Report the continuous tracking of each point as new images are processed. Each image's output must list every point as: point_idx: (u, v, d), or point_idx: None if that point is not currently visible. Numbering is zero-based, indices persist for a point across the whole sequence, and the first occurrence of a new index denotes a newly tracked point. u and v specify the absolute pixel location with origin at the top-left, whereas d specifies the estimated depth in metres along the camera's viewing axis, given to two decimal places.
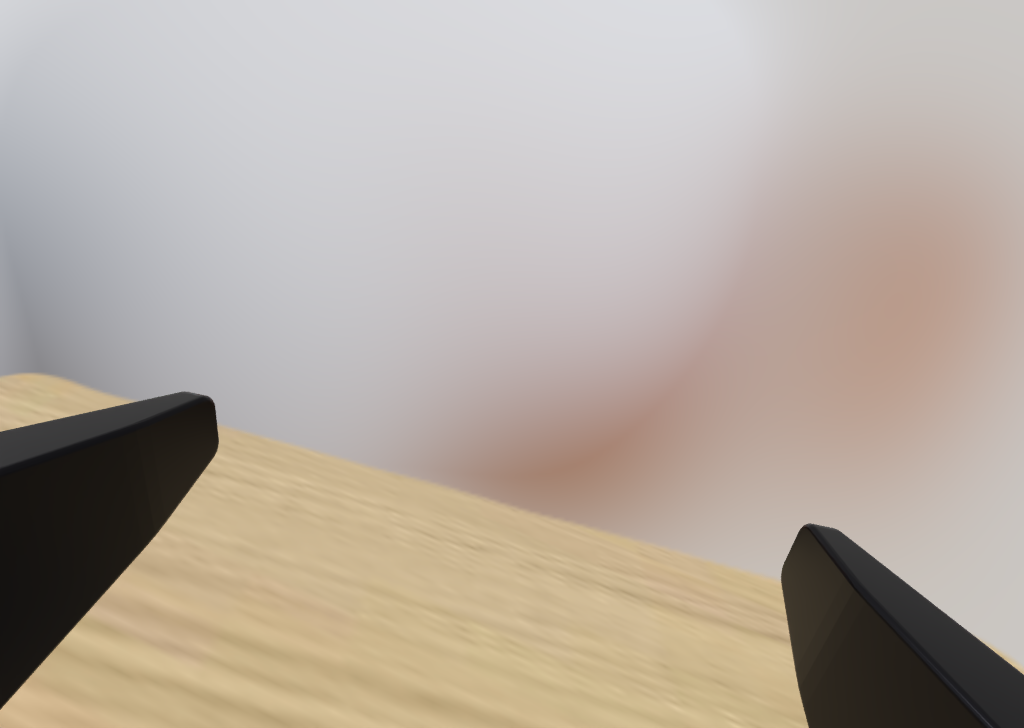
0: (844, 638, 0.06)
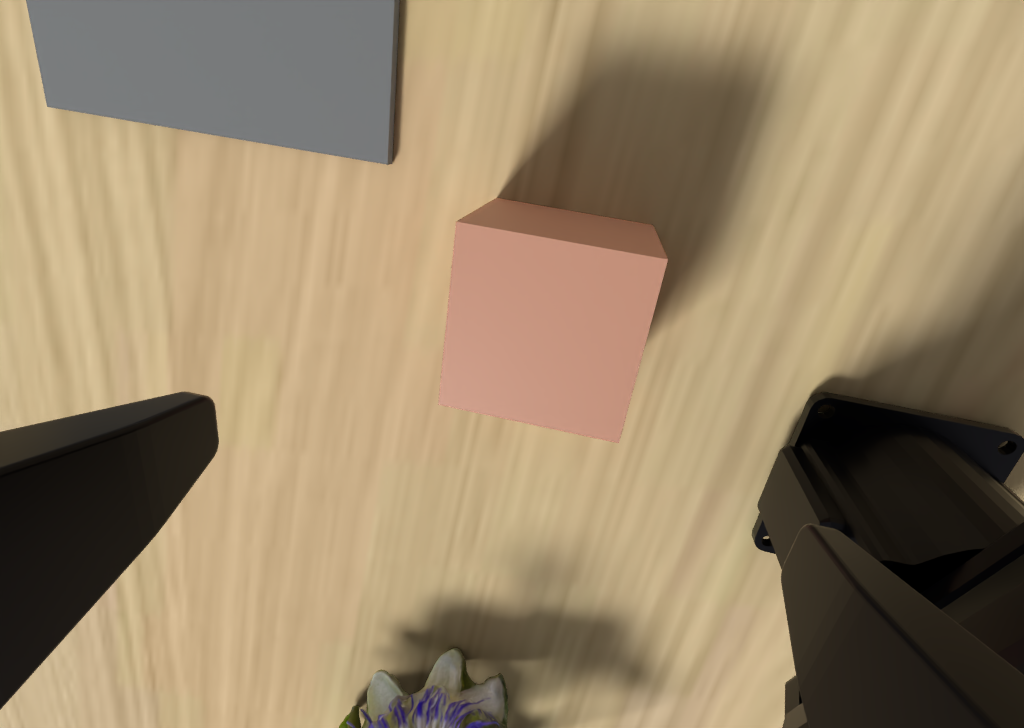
0: (844, 638, 0.06)
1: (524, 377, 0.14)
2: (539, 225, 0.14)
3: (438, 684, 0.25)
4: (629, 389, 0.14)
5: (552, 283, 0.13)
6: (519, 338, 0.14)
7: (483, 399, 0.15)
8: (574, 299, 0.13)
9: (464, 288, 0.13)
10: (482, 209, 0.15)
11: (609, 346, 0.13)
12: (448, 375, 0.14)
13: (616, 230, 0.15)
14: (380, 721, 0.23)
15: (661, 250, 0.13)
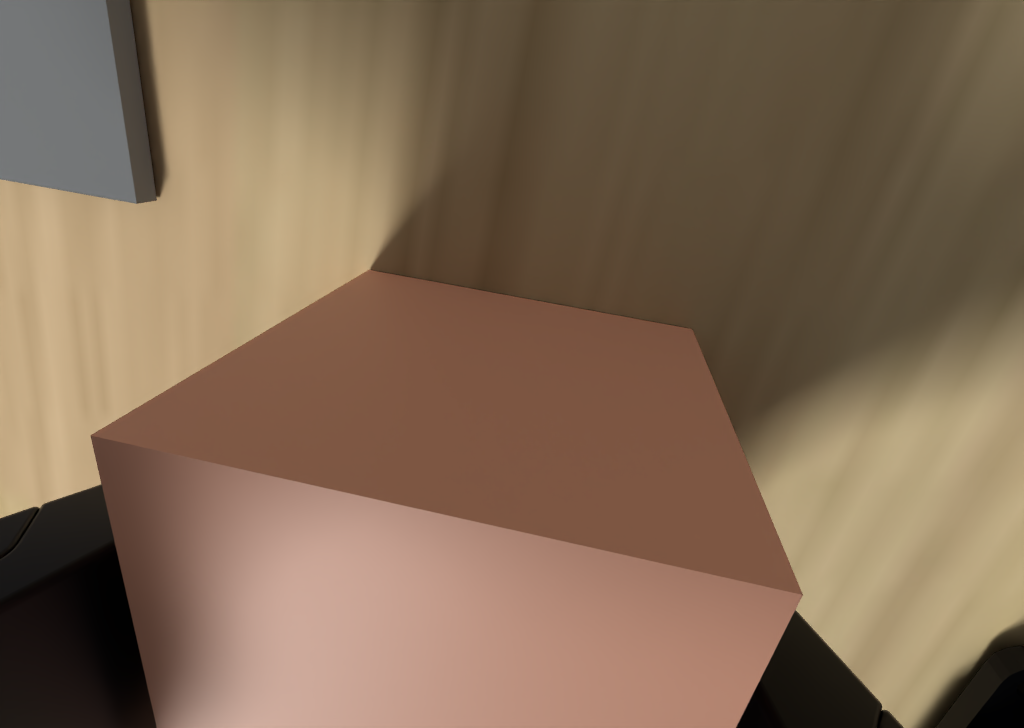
0: None
1: None
2: (403, 395, 0.05)
3: None
4: None
5: (414, 617, 0.04)
6: (341, 725, 0.05)
7: None
8: (484, 662, 0.04)
9: (166, 604, 0.05)
10: (280, 330, 0.06)
11: None
12: None
13: (615, 377, 0.06)
14: None
15: (753, 496, 0.04)
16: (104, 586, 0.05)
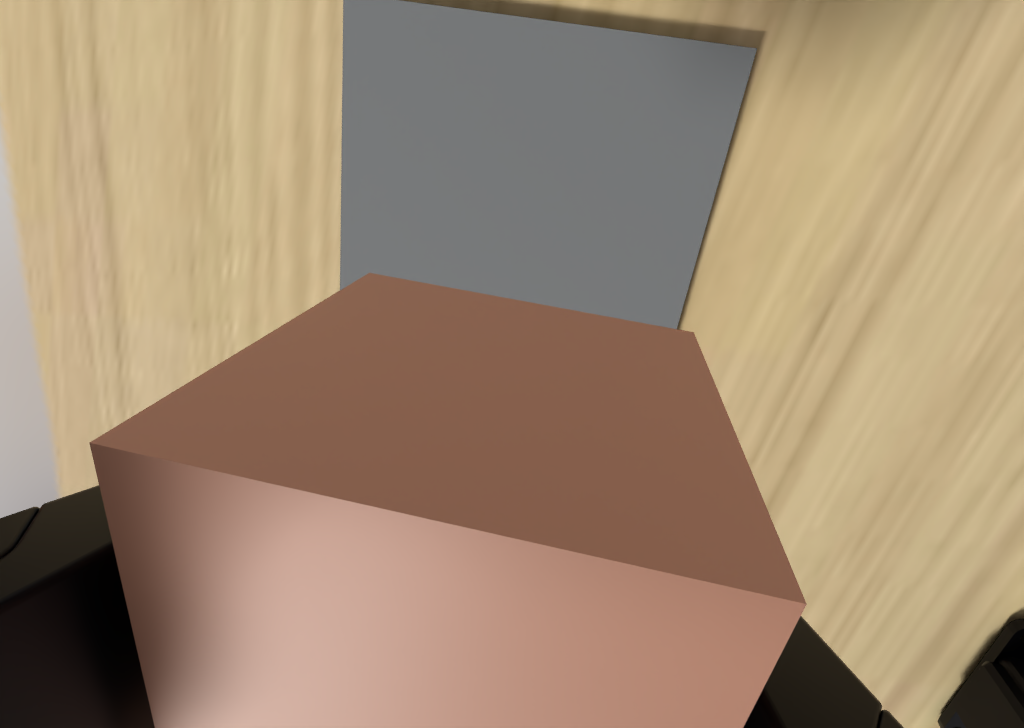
0: None
1: None
2: (403, 401, 0.05)
3: None
4: None
5: (415, 626, 0.04)
6: None
7: None
8: (487, 670, 0.04)
9: (164, 612, 0.04)
10: (280, 335, 0.06)
11: None
12: None
13: (617, 382, 0.06)
14: None
15: (756, 503, 0.04)
16: (104, 586, 0.05)
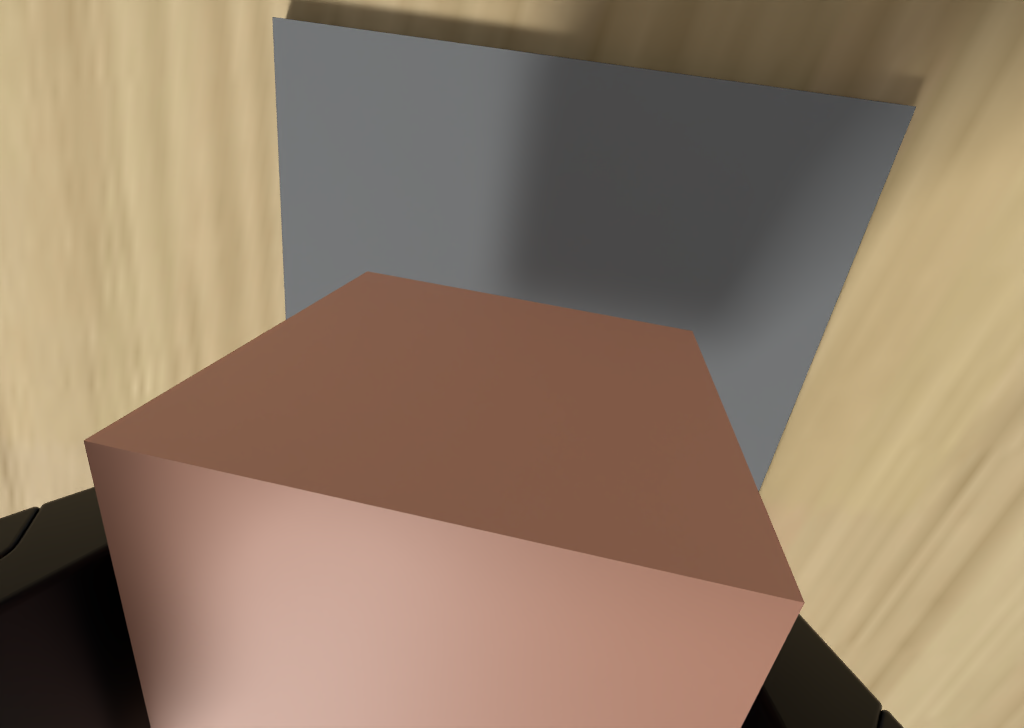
0: None
1: None
2: (400, 399, 0.05)
3: None
4: None
5: (412, 625, 0.04)
6: None
7: None
8: (483, 668, 0.04)
9: (160, 610, 0.04)
10: (277, 333, 0.06)
11: None
12: None
13: (615, 380, 0.06)
14: None
15: (754, 501, 0.04)
16: (105, 587, 0.05)
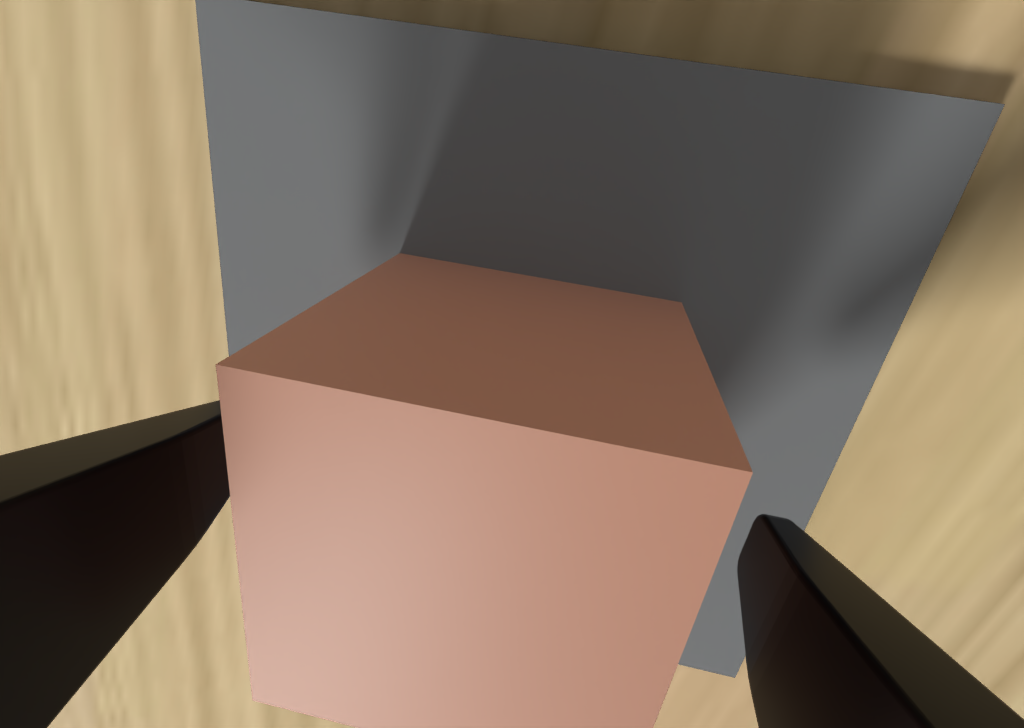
0: (787, 625, 0.06)
1: (417, 674, 0.06)
2: (444, 344, 0.06)
3: None
4: (649, 716, 0.06)
5: (461, 507, 0.05)
6: (397, 605, 0.06)
7: (339, 701, 0.07)
8: (515, 542, 0.05)
9: (262, 505, 0.06)
10: (337, 297, 0.07)
11: (602, 636, 0.06)
12: (262, 656, 0.07)
13: (615, 336, 0.07)
14: None
15: (722, 415, 0.06)
16: None
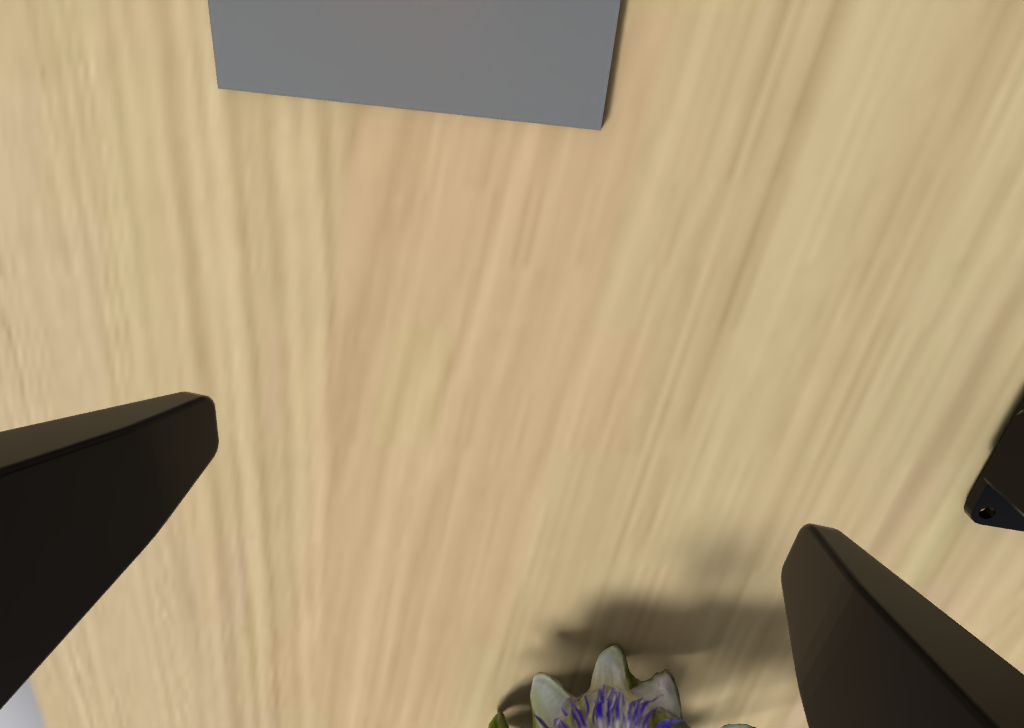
0: (844, 638, 0.06)
1: None
2: None
3: (605, 683, 0.24)
4: None
5: None
6: None
7: None
8: None
9: None
10: None
11: None
12: None
13: None
14: (561, 725, 0.22)
15: None
16: None
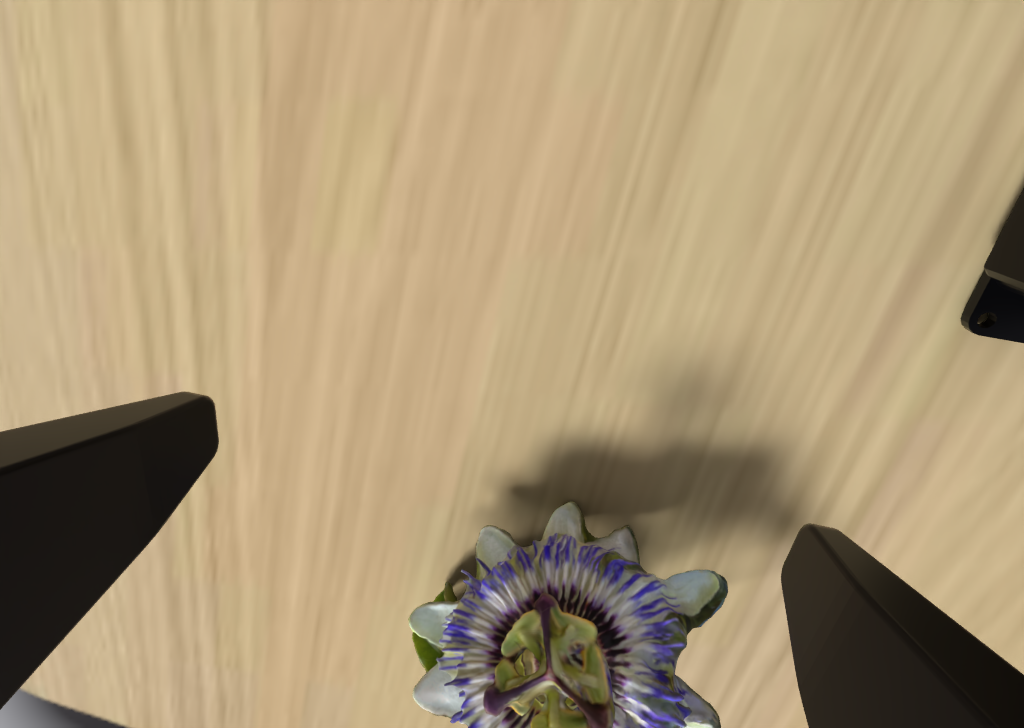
0: (844, 638, 0.06)
1: None
2: None
3: None
4: None
5: None
6: None
7: None
8: None
9: None
10: None
11: None
12: None
13: None
14: (503, 564, 0.19)
15: None
16: None
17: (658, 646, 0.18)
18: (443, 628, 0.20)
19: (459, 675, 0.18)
